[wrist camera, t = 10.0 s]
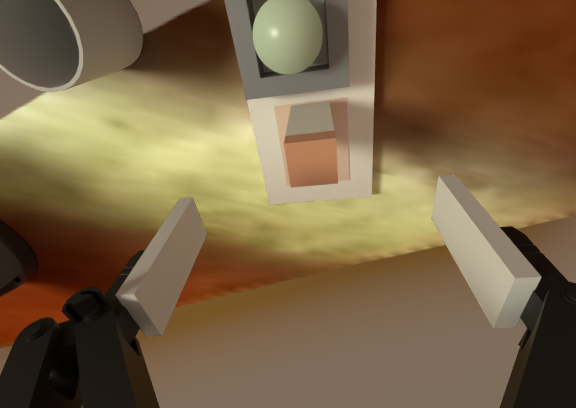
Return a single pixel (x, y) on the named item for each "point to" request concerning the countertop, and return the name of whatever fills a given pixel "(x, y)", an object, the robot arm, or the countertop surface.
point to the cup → (67, 40)
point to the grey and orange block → (311, 145)
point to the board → (314, 96)
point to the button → (287, 35)
